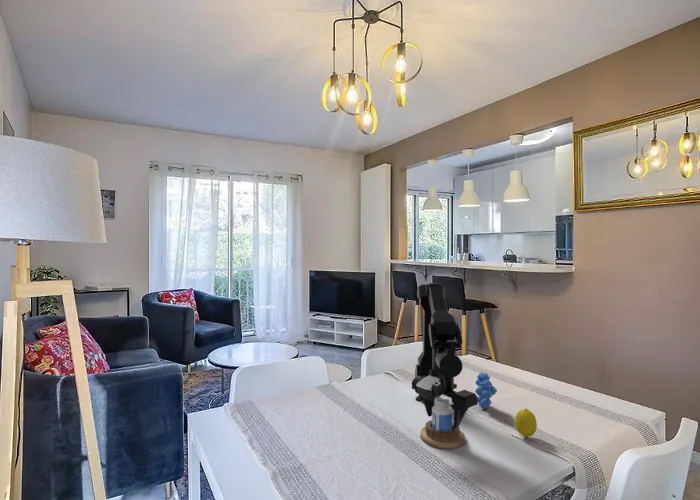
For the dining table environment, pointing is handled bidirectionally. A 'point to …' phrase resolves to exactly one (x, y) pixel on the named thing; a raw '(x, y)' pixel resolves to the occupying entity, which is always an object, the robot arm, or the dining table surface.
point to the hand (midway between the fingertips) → (442, 422)
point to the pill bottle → (441, 415)
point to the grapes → (484, 390)
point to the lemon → (525, 422)
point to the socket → (442, 437)
